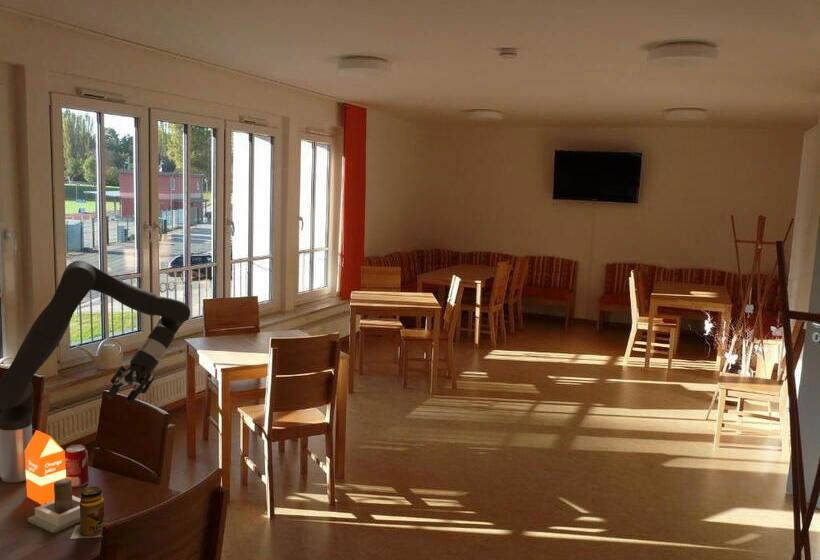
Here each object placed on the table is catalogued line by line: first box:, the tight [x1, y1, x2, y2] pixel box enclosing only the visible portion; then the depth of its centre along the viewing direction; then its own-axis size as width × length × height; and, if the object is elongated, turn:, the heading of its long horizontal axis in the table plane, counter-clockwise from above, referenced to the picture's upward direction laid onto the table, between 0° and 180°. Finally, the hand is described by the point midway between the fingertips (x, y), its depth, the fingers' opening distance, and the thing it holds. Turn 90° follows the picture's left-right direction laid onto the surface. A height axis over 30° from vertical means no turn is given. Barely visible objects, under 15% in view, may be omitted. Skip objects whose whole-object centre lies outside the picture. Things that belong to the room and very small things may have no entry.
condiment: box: [69, 486, 108, 540], centre depth 192 cm, size 7×8×12 cm
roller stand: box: [27, 494, 81, 534], centre depth 200 cm, size 12×14×4 cm
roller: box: [54, 479, 73, 514], centre depth 200 cm, size 4×4×10 cm
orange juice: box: [24, 429, 66, 506], centre depth 211 cm, size 8×9×20 cm
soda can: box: [65, 444, 90, 489], centre depth 220 cm, size 7×7×12 cm
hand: (118, 400), depth 215 cm, fingers open, 8 cm apart
